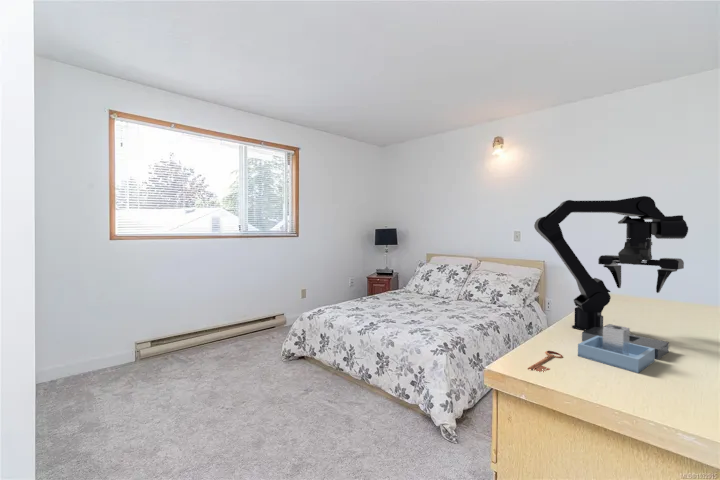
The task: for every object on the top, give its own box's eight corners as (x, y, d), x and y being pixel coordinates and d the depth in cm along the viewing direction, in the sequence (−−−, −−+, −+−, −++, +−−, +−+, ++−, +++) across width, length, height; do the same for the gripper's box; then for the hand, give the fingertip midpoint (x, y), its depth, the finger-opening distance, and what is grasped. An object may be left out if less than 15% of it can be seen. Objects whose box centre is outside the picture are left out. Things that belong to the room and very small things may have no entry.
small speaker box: (602, 355, 78) (603, 326, 78) (608, 351, 80) (609, 323, 80) (622, 360, 74) (623, 330, 74) (628, 356, 77) (629, 327, 76)
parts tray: (577, 356, 79) (578, 343, 79) (597, 346, 85) (597, 335, 85) (638, 373, 69) (638, 359, 69) (654, 361, 76) (654, 348, 76)
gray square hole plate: (581, 340, 90) (582, 332, 90) (595, 335, 95) (595, 326, 95) (657, 359, 76) (658, 349, 76) (668, 351, 81) (668, 342, 81)
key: (547, 379, 68) (573, 361, 77) (548, 375, 68) (574, 357, 77) (520, 367, 72) (548, 351, 82) (520, 363, 72) (548, 348, 82)
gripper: (590, 238, 100) (590, 288, 100) (672, 239, 84) (671, 298, 84) (606, 238, 106) (605, 285, 106) (684, 239, 90) (683, 294, 90)
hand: (637, 290), depth 96 cm, fingers open, 9 cm apart
